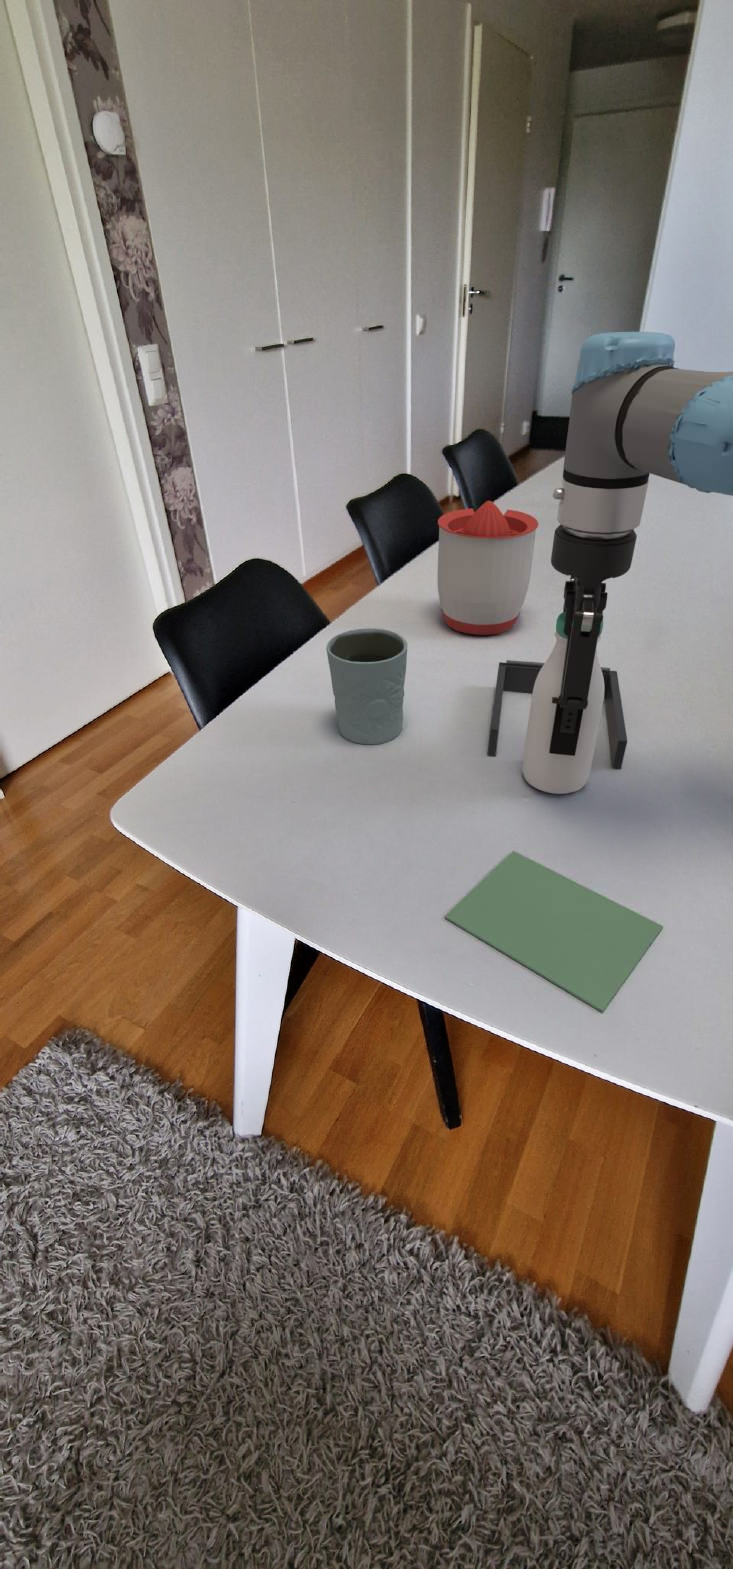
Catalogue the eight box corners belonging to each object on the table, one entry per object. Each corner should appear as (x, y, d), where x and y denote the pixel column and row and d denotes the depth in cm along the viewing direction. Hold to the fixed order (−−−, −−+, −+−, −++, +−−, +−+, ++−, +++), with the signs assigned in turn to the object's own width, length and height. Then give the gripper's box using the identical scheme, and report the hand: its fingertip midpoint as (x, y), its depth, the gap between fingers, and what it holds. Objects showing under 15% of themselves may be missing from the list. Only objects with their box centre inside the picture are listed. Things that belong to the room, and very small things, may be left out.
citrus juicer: (526, 603, 126) (540, 486, 114) (525, 645, 112) (541, 517, 101) (439, 599, 129) (444, 483, 117) (428, 639, 115) (432, 513, 103)
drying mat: (662, 928, 65) (663, 926, 64) (602, 1013, 57) (603, 1010, 57) (513, 852, 73) (513, 850, 73) (444, 918, 66) (444, 916, 66)
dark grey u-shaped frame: (496, 687, 102) (499, 658, 99) (611, 696, 99) (617, 667, 96) (487, 755, 88) (490, 724, 85) (620, 769, 85) (628, 737, 82)
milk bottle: (595, 795, 80) (629, 632, 68) (527, 796, 80) (550, 633, 68) (579, 757, 86) (609, 601, 74) (516, 758, 87) (536, 603, 75)
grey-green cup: (383, 755, 88) (382, 669, 81) (316, 735, 92) (309, 651, 85) (419, 718, 95) (421, 636, 88) (355, 701, 99) (352, 621, 92)
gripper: (555, 497, 75) (530, 686, 88) (555, 561, 59) (524, 781, 72) (629, 499, 74) (592, 691, 87) (649, 566, 57) (600, 789, 71)
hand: (561, 732), depth 80 cm, fingers closed on milk bottle, 8 cm apart
